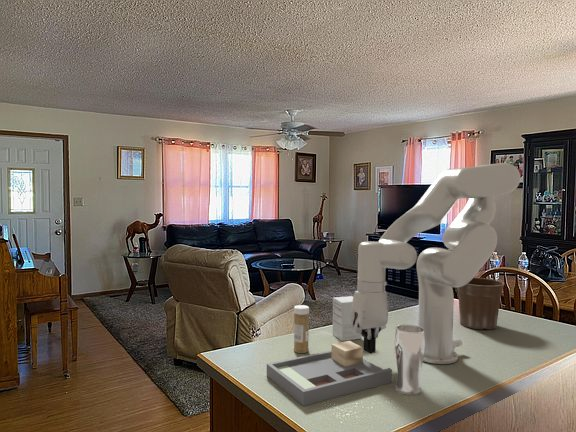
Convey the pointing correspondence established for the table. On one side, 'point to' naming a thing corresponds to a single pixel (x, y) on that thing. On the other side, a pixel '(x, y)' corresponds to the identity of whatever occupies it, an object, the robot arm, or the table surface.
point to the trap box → (324, 377)
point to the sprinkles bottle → (301, 328)
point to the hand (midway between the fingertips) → (369, 351)
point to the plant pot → (480, 303)
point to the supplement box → (343, 319)
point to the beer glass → (409, 358)
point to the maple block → (347, 353)
